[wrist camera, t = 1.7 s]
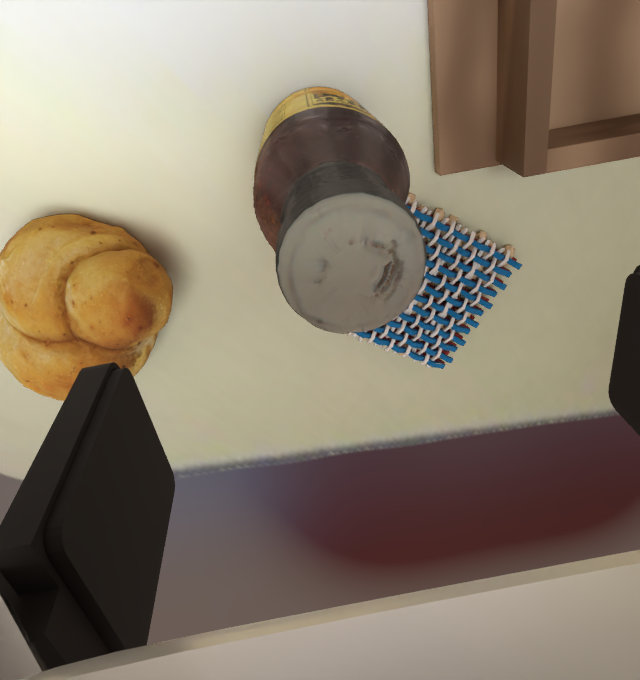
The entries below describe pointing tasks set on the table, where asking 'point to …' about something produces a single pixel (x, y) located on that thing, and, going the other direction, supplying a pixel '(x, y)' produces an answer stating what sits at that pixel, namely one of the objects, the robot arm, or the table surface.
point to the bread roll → (77, 301)
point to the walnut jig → (534, 83)
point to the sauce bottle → (338, 212)
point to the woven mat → (444, 290)
